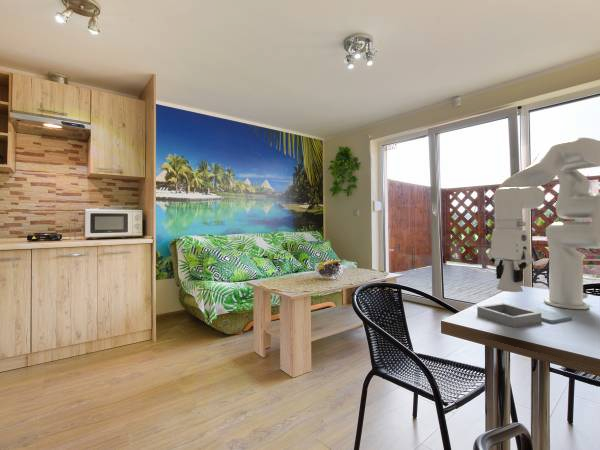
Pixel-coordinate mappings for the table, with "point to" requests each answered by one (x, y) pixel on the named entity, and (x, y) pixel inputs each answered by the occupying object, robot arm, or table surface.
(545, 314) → the board
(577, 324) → the table surface
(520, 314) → the grey square tray
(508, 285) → the flask
